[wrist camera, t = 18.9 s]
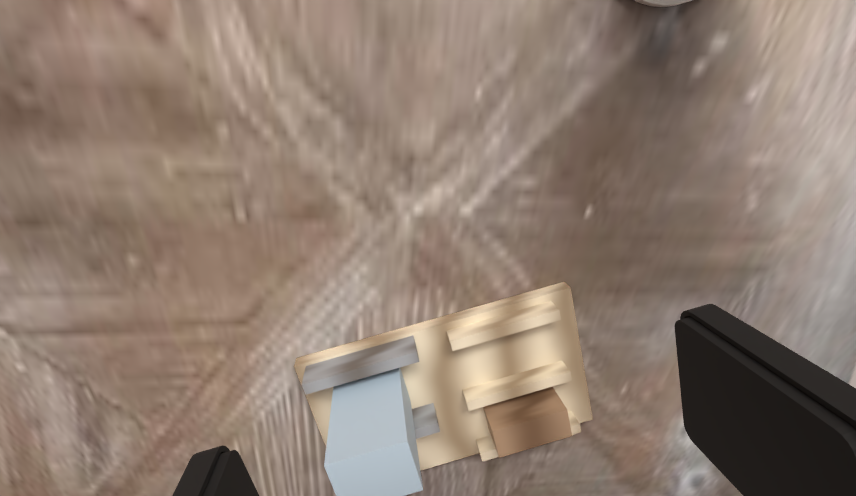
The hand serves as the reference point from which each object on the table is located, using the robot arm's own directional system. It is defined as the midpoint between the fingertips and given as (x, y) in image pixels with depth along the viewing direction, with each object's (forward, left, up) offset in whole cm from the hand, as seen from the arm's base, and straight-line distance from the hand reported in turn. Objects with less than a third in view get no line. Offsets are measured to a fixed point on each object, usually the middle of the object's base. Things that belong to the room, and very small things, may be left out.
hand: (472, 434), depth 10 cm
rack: (0, +21, -32) cm, 39 cm away
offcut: (-6, +25, -31) cm, 40 cm away
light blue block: (+7, +18, -31) cm, 36 cm away
